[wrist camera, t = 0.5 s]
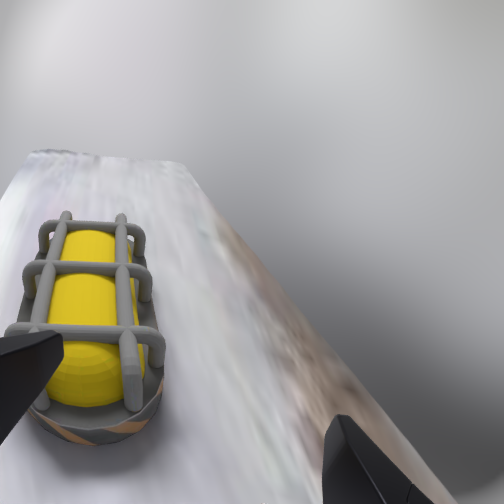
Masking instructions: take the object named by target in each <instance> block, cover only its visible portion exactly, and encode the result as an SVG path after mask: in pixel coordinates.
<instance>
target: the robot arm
mask: <svg viewBox="0 0 504 504" xmlns="http://www.w3.org/2000/svg"><path fill="white" fill-rule="evenodd" d="M63 358H64V344H63V336H62V334H61V333H59V332H57V331H55V330H52V329H51V330H45V331H39V332H33V333H27V334H21V335H15V336H8V337H2V338H0V445H1V444H2V443H3V441H4V440H5V438H6V437H7V436H8V434H9V433H10V432H11V430H12V429H13V428H14V427H15V425H16V424H17V423H18V421H19V420H20V419H21V417H22V416H23V415H24V414H25V412H26V411H27V410H28V409H29V407H30V406H31V405H32V404H33V402H34V401H35V400H36V399H37V397H38V396H39V395H40V393H41V392H42V391H43V389H44V388H45V387H46V385H47V383H48V382H49V380H50V379H51V377H52V376H53V374H54V373H55V371H56V370H57V368H58V366H59V365H60V363H61V362H62V360H63ZM322 492H323V504H434V503H433V502H432V501H431V500H430V499H429V498H428V497H427V496H425V495H424V494H423V493H422V492H421V491H420V490H419V489H418V488H417V487H416V486H415V485H414V484H412V482H411V481H410V480H409V479H408V478H407V477H406V476H405V475H404V474H403V472H402V471H401V470H400V469H399V468H398V467H397V466H396V465H395V464H394V463H393V462H392V461H391V460H390V459H389V458H388V457H387V456H386V455H385V454H384V453H383V452H382V450H381V449H380V448H379V447H378V446H377V445H376V444H375V443H374V442H373V441H372V440H371V439H370V438H369V437H368V436H367V434H366V433H365V432H364V431H363V430H362V429H361V428H360V427H359V426H358V425H357V424H356V423H355V421H354V420H353V419H352V418H351V417H350V416H348V415H340V414H337V415H336V416H335V417H334V418H333V420H332V422H331V424H330V426H329V428H328V430H327V431H326V434H325V439H324V455H323V469H322Z"/></svg>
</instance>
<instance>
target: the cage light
mask: <svg viewBox="0 0 504 504" xmlns="http://www.w3.org/2000/svg"><path fill="white" fill-rule="evenodd" d="M50 232H55V233H54V236H53V238H52V239H51V240H49V233H50ZM127 235H131V236H133V237H134V242H132V241H131V240H129V239H127ZM38 238H39V252H38V254H37V255H36V258H35V260H34V261H31V262H29V263H28V264H27V265H26V266H25V268H24V270H23V273H22V280H23V285H24V291H25V292H24V296H23V299H22V303H21V306H20V310H19V314H18V318H17V322H16V323H14V324H11V325H10V326H9V327H8V328H7V329H6V330H5V334H4V337H8V336H15V335H21V334H27V333H33V332H39V331H45V330H51V329H52V330H55V331H57V332H59V333H61V334H62V336H63V344H64V358H63V360H62V362H61V363H60V365H59V366H58V368H57V370H56V371H55V373H54V374H53V376H52V377H51V379H50V380H49V382H48V383H47V385H46V387H45V388H44V389H43V391H42V392H41V393H40V395H39V396H38V397H37V399H36V400H35V401H34V402H33V404H32V405H31V406H30V407H29V409H28V411H29V413H30V414H31V415H32V416H33V417H34V418H35V419H36V420H37V422H38V423H39V424H40V425H41V426H42V427H43V428H44V429H45V430H47V431H49V432H51V433H52V434H54V435H56V436H58V437H60V438H62V439H64V440H66V441H68V442H73V443H79V444H85V445H92V446H96V445H102V444H109V443H115V442H119V441H121V440H123V439H125V438H127V437H129V436H131V435H133V434H134V433H136V432H138V431H140V430H141V429H142V428H143V427H144V426H145V424H146V423H147V422H148V421H149V420H150V419H151V418H152V417H153V415H154V414H155V412H156V409H157V406H158V404H159V401H160V398H161V395H162V387H163V378H164V357H165V349H166V345H165V340H164V338H163V336H162V335H161V333H159V332H158V327H157V322H156V317H155V312H154V306H153V301H152V295H151V293H152V283H153V282H152V276H151V274H150V272H149V271H148V270H147V265H146V259H145V257H144V250H145V241H146V238H145V234H144V231H143V230H142V229H141V228H140V227H139V226H137V225H136V224H131V223H127V219H126V216H125V215H124V214H122V213H121V214H118V215H117V216H116V221H115V222H97V221H76V220H72V214H71V212H69V211H64V212H62V214H61V216H60V219H59V220H48V221H46V222H45V223H44V224H43V225H42V226H41V227H40V229H39V235H38Z"/></svg>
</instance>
